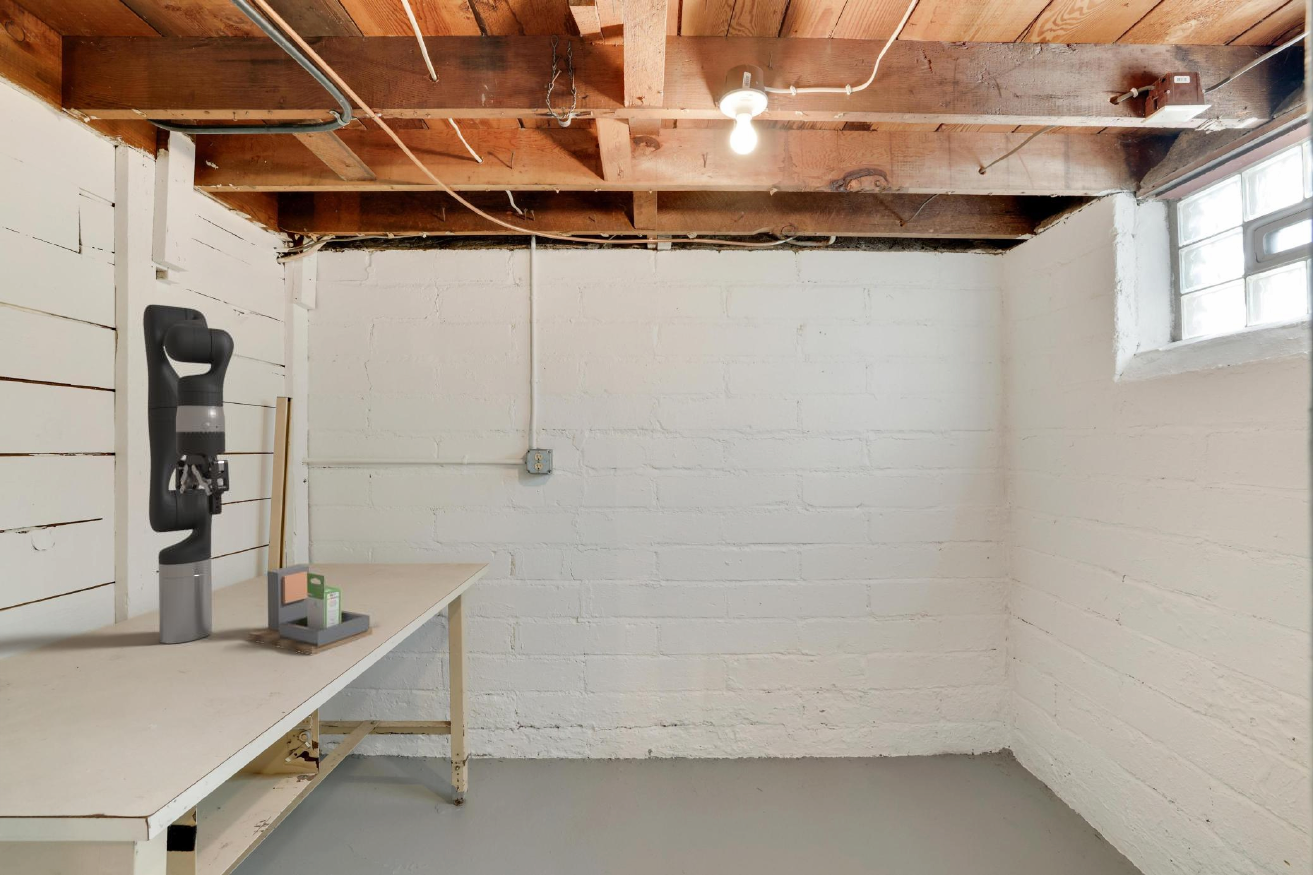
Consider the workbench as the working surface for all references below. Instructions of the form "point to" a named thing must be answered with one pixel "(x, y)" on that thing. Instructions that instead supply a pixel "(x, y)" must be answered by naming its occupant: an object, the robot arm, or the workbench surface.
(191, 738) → the workbench surface
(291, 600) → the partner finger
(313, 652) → the walnut rail base
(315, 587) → the ink box
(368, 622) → the dark gray rectangular frame
